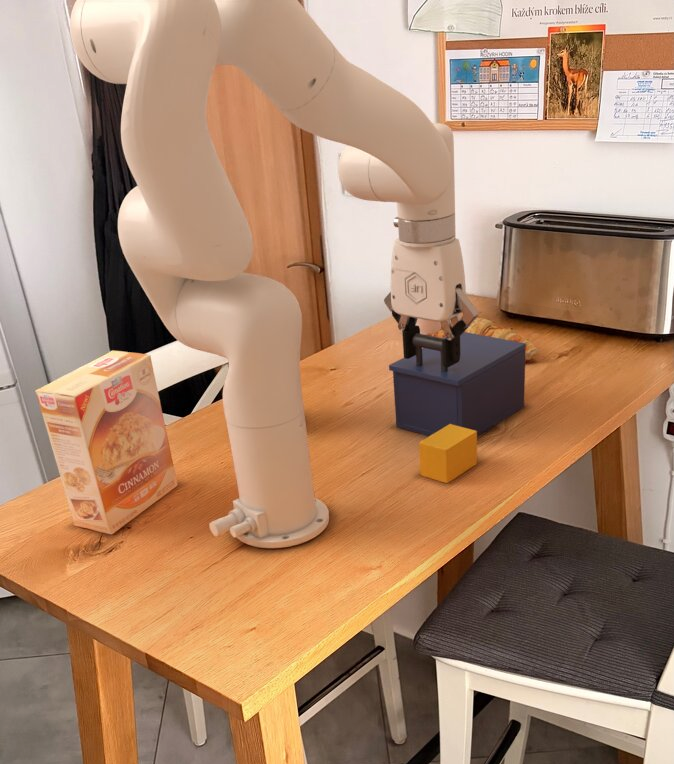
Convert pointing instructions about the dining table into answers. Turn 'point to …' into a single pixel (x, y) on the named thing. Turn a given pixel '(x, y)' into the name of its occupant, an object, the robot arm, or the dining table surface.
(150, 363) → the coffeecake box
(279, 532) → the robot arm
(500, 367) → the cool box
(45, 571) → the dining table surface
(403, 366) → the lid
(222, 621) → the dining table surface
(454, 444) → the cheese block
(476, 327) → the croissant
